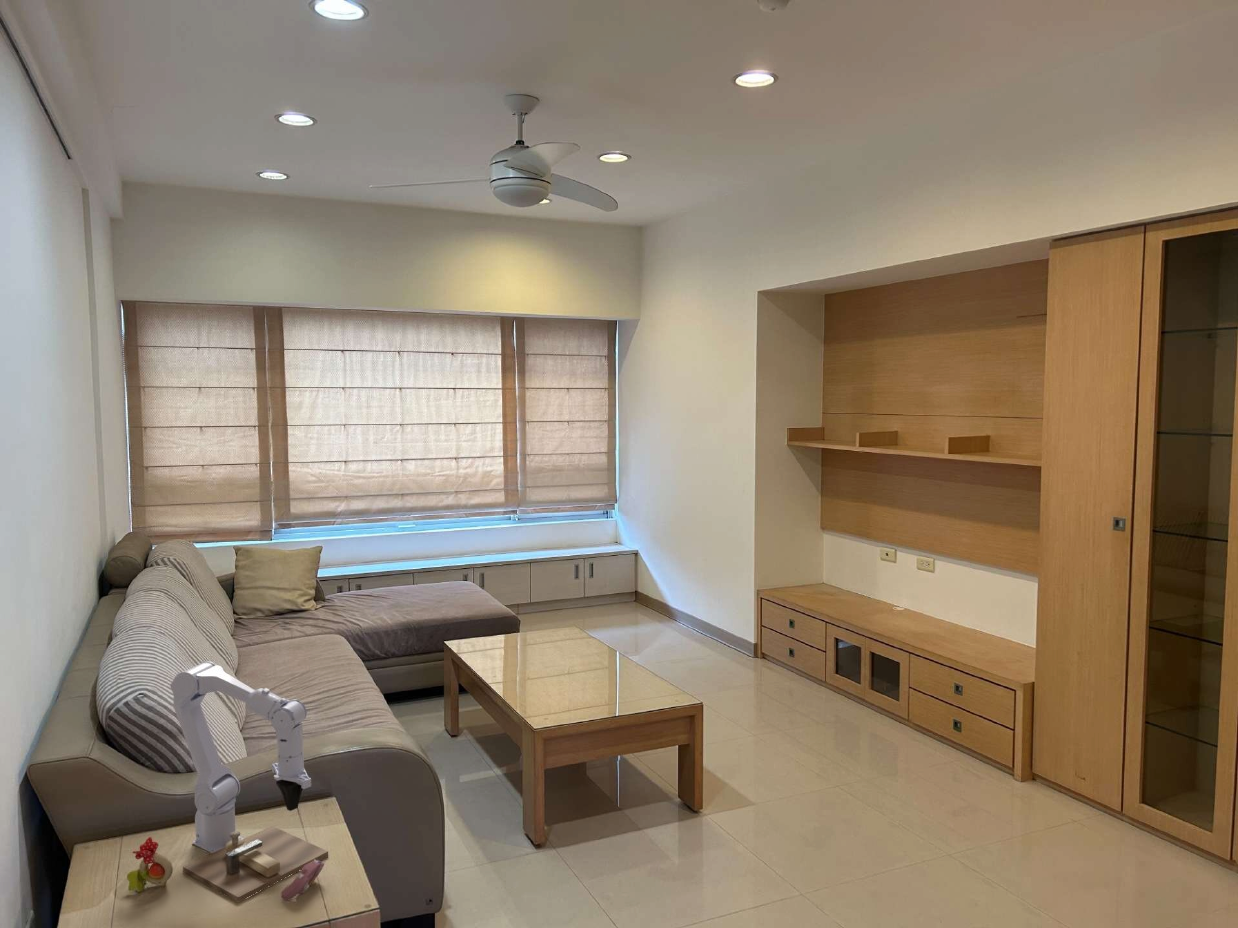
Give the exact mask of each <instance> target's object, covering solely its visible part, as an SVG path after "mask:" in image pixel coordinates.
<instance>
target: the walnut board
mask: <svg viewBox="0 0 1238 928" xmlns="http://www.w3.org/2000/svg"><path fill="white" fill-rule="evenodd" d="M257 839H258V840H260V841H262V846H261V847H259V848H257V850H259V851H260V852H262V853H264V854H266V855H268V856H269V857H271V858H273V859H275V860H277V861H278V862H280V872H278V873H276V874H274V875H272V876H270V877H266V876H264V875H263V874H261V873H259V872H258V871H256V870H254V869H252V868H251V867H249V866H247V865H246V864H244V863H242V862H241V861H239V863H240V872H239V873H237V874H235V875H233V876H231V875H229V874H227V872H226V847H225V848H223V849H220V850H218V851H216V852H214V853H210V854H208V855H205V856H203V857H201V858H198V859H196V860H195V861H192V862H190V863H188V864H185V865H183V866H182V872H183V873H185V874H187V875H189V876H190V877H192V878H193V879H195V880H197V881H199V882H200V883H203V884H204V885H205V886H208V887H210V888H212V889H213V890H215V891H217V892H219V893H220V892H221V893H220V894H222V895H224V894H225V895H224V896H226V895H227V896H226V897H227V898H229V897H230V899H232V900H233V899H234V900H233V901H235V902H237V903H241V902H242V901H245V900H246V898H247V897H249V896H251V895H252V896H254V895H256V894H257V893H256V892H258V893H260V892H261V891H260V890H262V889H264V888H266V887H268V886H270V887H271V885H272V886H274V885H275V884H274V883H276V882H277V881H280V880H281V879H283V880H285V879H286V878H285V877H287V878H289V877H290V876H289V875H291V874H293V875H295V874H296V873H295V872H297V873H299V872H300V871H299V870H301V869H302V868H303V866H305V865H306V864H308V863H310V862H312V861H314V859H315V860H317V861H322V860H323V859H326V858H329V851H328V850H326V849H324V848H322V847H319V846H317V845H315V844H313V843H311V842H308V841H306V840H304V839H302V838H300V837H297V836H295V835H294V834H291V833H290V832H289V833H288V832H287V831H285V830H282V829H280V828H278V827H276V826H274V825H271V826H268V827H267V828H265V829H262V830H260V831H258V832H256V833H253V834H252V835H250V836H247V837H245V838H243V839H242V840H244V841H245V843H246V844H248V843H250V842H252V841H254V840H257ZM298 871H299V872H298ZM294 873H295V874H294ZM288 876H289V877H288ZM291 876H292V875H291ZM284 878H285V879H284ZM281 881H282V880H281ZM281 881H280V882H281ZM273 884H274V885H273ZM276 884H277V883H276ZM268 888H269V887H268ZM266 889H267V888H266ZM264 890H265V889H264ZM259 891H260V892H259ZM262 891H263V890H262ZM255 893H256V894H255ZM253 894H254V895H253ZM252 896H251V897H252ZM249 898H250V897H249ZM247 899H248V898H247Z"/></svg>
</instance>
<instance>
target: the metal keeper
mask: <svg viewBox="0 0 1238 928" xmlns="http://www.w3.org/2000/svg"><path fill="white" fill-rule="evenodd" d="M261 846H262V841H260V840H258V839H257V840H254V841H252V842H250V843H248V844H246V845H244V846H241V847H239V848H237V849H235V850H233V851H231V852H229V853H226V872H227V874H229V875H231V876H233V875H235V874H237V873H239V872H240V863H239V857H240V856H242V855H244V854H246V853H248V852H250V851H253V850H255V849H257V848H259V847H261Z"/></svg>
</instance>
